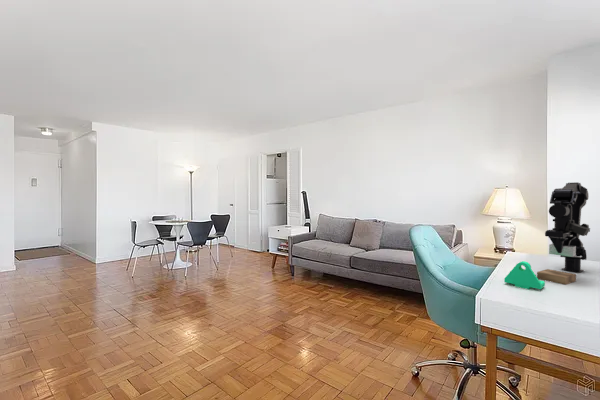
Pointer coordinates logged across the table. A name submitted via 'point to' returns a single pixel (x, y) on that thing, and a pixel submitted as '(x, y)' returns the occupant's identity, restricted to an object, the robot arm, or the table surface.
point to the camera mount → (524, 277)
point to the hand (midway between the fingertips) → (562, 252)
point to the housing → (563, 250)
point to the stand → (556, 276)
